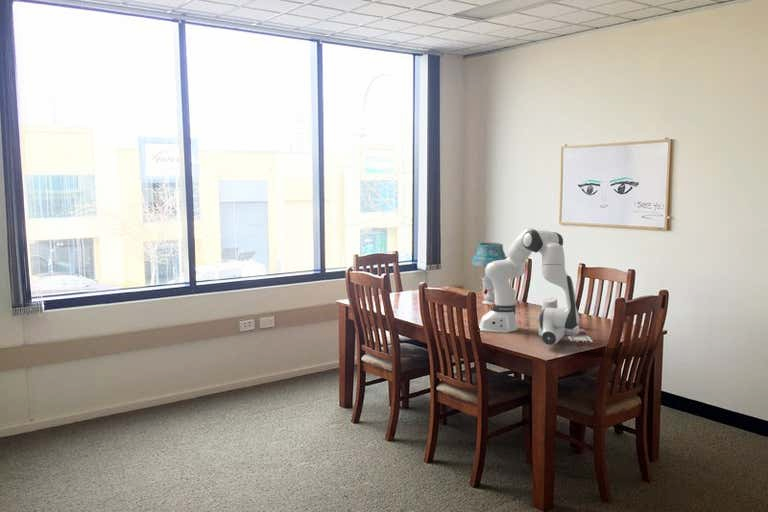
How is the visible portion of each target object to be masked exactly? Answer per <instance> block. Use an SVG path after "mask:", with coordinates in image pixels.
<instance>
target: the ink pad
mask: <svg viewBox="0 0 768 512" xmlns="http://www.w3.org/2000/svg"><path fill="white" fill-rule="evenodd" d="M577 335H587V331H586V329H584V328H579V333H578V334H577Z"/></svg>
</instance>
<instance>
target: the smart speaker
mask: <svg viewBox="0 0 768 512" xmlns="http://www.w3.org/2000/svg"><path fill="white" fill-rule="evenodd" d="M545 308H559V307H558V298H557V297H555V296H549V297H544V299H543V300H542V305H541V312H542V311H543V309H545Z"/></svg>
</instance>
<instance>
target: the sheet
mask: <svg viewBox="0 0 768 512" xmlns="http://www.w3.org/2000/svg"><path fill="white" fill-rule="evenodd" d="M566 337H567V338H568V339H570V340H569V341H570V342H571V341H576V342H579V341H582V342H583V343H588V342H587V341H590V342H589V343H593V342H594V341H593V340H592V339H591V338H590V336H581V335H579V336H578V335H577V336H576V335H568V336H566ZM584 341H586V342H584ZM582 342H581V343H582ZM579 343H580V342H579Z"/></svg>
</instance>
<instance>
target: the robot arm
mask: <svg viewBox="0 0 768 512" xmlns="http://www.w3.org/2000/svg"><path fill="white" fill-rule="evenodd" d="M563 245H564V238H563V236H562V234H560V233H558V232H556V231H549V230H539V229H538V230H537V229H535V228H532V227H528V228H525V229H524V230H523V231H521V233H520V234H519V235H517V237H516V238H515V240H514V241H513V242H512V243H511V245H510V246H509V248H508V249H507V255H508V257H507V258H506V259H505V260H498V261H493V262H491V263H489V264H488V265H487V266H486V268H485V269H484V270H485V271H484V273H486V276H487V277H488V278H489V279H490V280H491V282H492V283H493V286H494V290H493V291H494V296H495V299H494V301H495V303H494V304H493V303H490V305H489V307H490V310H489V311H488V312H487V313H485V314H483V315H482V317H481V319H480V322H479V323H478V324H479V328H480V331H479V332H485V333H486V332H487V333H488V332H489V333H504V334H507V333H510V332H515V331H518V327H517V321H516V313H517V306H516V291H515V289H514V288H513V287H512V286H511V284H510V281H509V280H511V279H517V278H519V277H521V276H523V275H524V274H525V272H526V265H525V262H526V261H527V259H528V258H529V257H530V256H531V255H532V253H540V254H541V256H542V257H541V258H542V260H541V274H542V277H543V278H544V279H545V280H546V281H547V282H548V283H551V284H554V285H555V286H558V287H559V288H562V289H563V291H564V294H565V301H566V308H565V307H564V308H560V307H558V308H545V309H543V311H542V310H541V312H540V314H539V320H538V321H539V323H538V335H539V336H541V340H542V342H543V343H544V344H546V345H548V346H553V345H556V344H557V343H559V342H560V341H561V339H562V338H563V337H565V336H564V335H565V334H566V335H568V336H576V335H579V334H578V333H579V329H580V326H579V322H580V315H579V312H578V307H577V303H576V296H575V295H576V294H575V289H574V284H573V279H572V278H571V277H572V276H570V275H568V274H567V272H566V267H565V266H566V262H565V261H566V259H565V258H566V257H565V251H564V247H563Z"/></svg>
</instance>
